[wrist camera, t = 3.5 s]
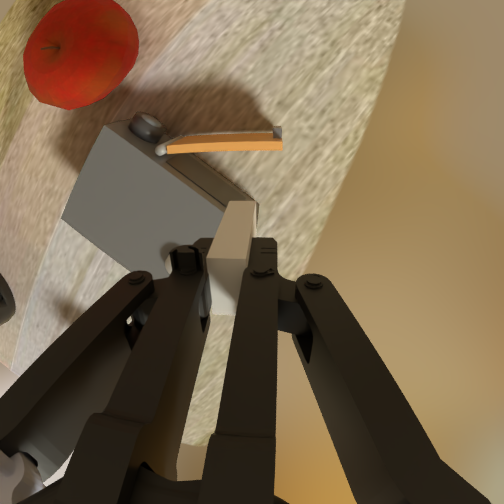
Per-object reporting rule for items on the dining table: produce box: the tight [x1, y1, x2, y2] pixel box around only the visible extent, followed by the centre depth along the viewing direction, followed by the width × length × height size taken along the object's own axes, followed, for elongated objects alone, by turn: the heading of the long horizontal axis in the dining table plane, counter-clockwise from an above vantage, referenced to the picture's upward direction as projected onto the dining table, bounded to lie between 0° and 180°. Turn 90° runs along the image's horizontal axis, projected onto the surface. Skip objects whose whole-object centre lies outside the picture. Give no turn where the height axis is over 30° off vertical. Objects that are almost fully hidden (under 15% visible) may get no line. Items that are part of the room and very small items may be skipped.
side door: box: [155, 126, 282, 156], centre depth 29 cm, size 12×2×7 cm, turn 91°
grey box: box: [61, 112, 259, 280], centre depth 32 cm, size 18×14×10 cm
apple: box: [23, 0, 139, 110], centre depth 22 cm, size 12×12×14 cm
